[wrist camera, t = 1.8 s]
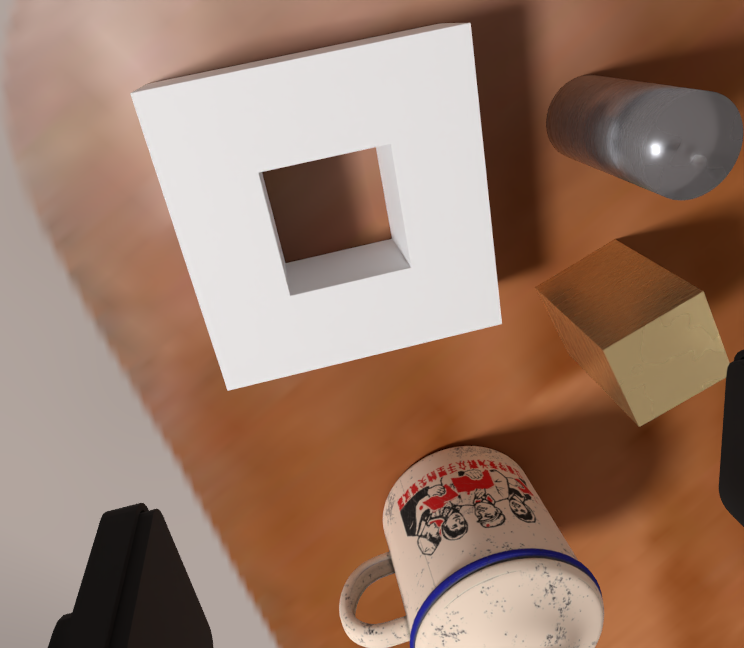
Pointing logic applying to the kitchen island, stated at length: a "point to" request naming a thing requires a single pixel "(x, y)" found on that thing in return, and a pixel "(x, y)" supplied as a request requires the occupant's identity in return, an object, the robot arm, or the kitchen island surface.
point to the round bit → (647, 133)
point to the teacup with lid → (475, 562)
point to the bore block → (313, 142)
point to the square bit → (635, 330)
